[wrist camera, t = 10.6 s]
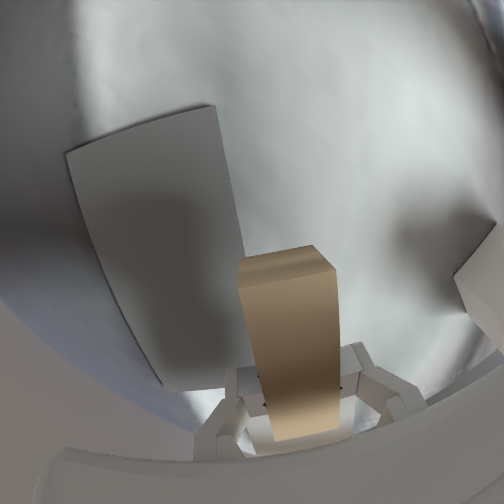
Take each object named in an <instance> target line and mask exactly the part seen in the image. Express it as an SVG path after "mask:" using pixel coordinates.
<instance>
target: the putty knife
mask: <svg viewBox="0 0 504 504" xmlns="http://www.w3.org/2000/svg"><path fill="white" fill-rule="evenodd" d="M238 290H239V295H240V299H241V304H242V308H243V312H244V317H245V321H246V325H247V330H248V334H249V338H250V342H251V347H252V351H253V355H254V359H255V363H256V367H257V371H258V376H259V380H260V384H261V388H262V392H263V395H264V400H265V404H266V408H267V412H268V415H263V416H258V417H251V418H250V420H249V422H248V424H247V426H246V428H247V431H248V433H249V436H250V439H251V441H252V444H253V447H254V449H255V452H256V454H257V457H260V456H268V455H274V454H281V453H287V452H292V451H297V450H302V449H307V448H312V447H316V446H320V445H325V444H328V443H332V442H336V441H340V440H343V439H347V438H350V437H352V432H353V423H354V414H355V403H356V395H354V396H350V397H346V398H342V399H340V326H339V305H338V290H337V276H336V269H335V268H334V267H333V266H332V265H331V264H330V263H329V262H328V261H327V260H326V258H325V257H324V256H323V255H322V254H321V253H320V252H319V251H318V250H317V249H316V248H315V247H314V246H313V245H309V246H303V247H298V248H293V249H288V250H283V251H277V252H272V253H267V254H262V255H256V256H251V257H246V258H241V259H239V271H238Z"/></svg>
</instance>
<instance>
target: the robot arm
mask: <svg viewBox="0 0 504 504" xmlns="http://www.w3.org/2000/svg"><path fill="white" fill-rule="evenodd" d="M354 395H356V396H357V397H358V398H360V399H361V400H362V401H364V402H365V403H366V404H368V405H369V406H370V407H372V408H373V409H374V410H376V411H377V412H378V413H380V414H381V417H380V419H379V422H378V424H377V426H376V428H377V429H375V430H372V431H369V432H366V433H363V434H360V435H357V436H353V437H350V438H347V439H343V440H340V441H336V442H332V443H328V444H325V445H320V446H316V447H312V448H307V449H302V450H297V451H292V452H287V453H281V454H274V455H268V456H260V457H252V458H245V456H244V454H243V453H242V451H241V449H240V448H239V446H238V444H237V442H238V440H239V438H240V437H241V435H242V433H243V431H244V429H245V428H246V426H247V424H248V422H249V420H250V418H251V417H258V416H263V415H268V412H267V408H266V404H265V400H264V395H263V392H262V388H261V384H260V380H259V376H258V371H257V367H256V365H255V366H248V367H240V368H232V369H226V371H225V399H222V400H221V401H220V403H219V404H218V406H217V407H216V408H215V410H214V411H213V412H212V414H211V415H210V416H209V418H208V419H207V420H206V422H205V423H204V424H203V426H202V427H201V428H200V429H199V431H198V432H197V433H196V435H195V436H194V454H193V461H170V460H152V459H140V458H131V457H122V456H115V455H109V454H103V453H97V452H91V451H87V450H82V449H78V448H73V447H64V448H63V449H61V450H59V451H58V452H56V453H55V454H54V455H53V456H52V457H50V458H49V459H48V460H47V461H46V462H45V463H44V465H43V467H42V469H41V471H40V474H39V477H38V480H37V483H36V487H35V491H34V495H33V499H32V503H31V504H504V363H503V364H501V365H500V366H498V367H497V368H495V369H494V370H493V371H491V372H490V373H488V374H487V375H485V376H484V377H482V378H480V379H479V380H477V381H476V382H474V383H472V384H471V385H469V386H467V387H466V388H464V389H462V390H461V391H459V392H457V393H455V394H453V395H452V396H450V397H448V398H446V399H444V400H442V401H440V402H438V403H436V404H434V405H432V406H430V407H428V406H427V404H426V402H425V400H424V398H423V396H422V395H421V393H420V391H419V389H418V387H416V386H414V385H413V384H411V383H409V382H407V381H405V380H403V379H401V378H399V377H397V376H396V375H394V374H392V373H390V372H388V371H386V370H384V369H383V368H381V367H379V366H376V367H375V366H374V364H373V362H372V360H371V358H370V356H369V354H368V352H367V350H366V348H365V347H364V345H363V343H362V342H357V343H353V344H349V345H346V346H342V347H340V399H342V398H346V397H350V396H354Z"/></svg>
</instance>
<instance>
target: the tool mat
mask: <svg viewBox="0 0 504 504" xmlns="http://www.w3.org/2000/svg"><path fill="white" fill-rule="evenodd" d="M66 158H67V162H68V166H69V170H70V174H71V178H72V181H73V185H74V189H75V192H76V195H77V199H78V202H79V205H80V209H81V212H82V215H83V218H84V221H85V224H86V227H87V229H88V232H89V235H90V238H91V241H92V243H93V246H94V249H95V251H96V254H97V256H98V259H99V261H100V264H101V266H102V269H103V271H104V273H105V276H106V278H107V280H108V283H109V285H110V287H111V289H112V292H113V294H114V296H115V298H116V300H117V302H118V304H119V306H120V309H121V311H122V313H123V315H124V317H125V319H126V321H127V323H128V324H129V326H130V328H131V330H132V332H133V334H134V336H135V338H136V340H137V341H138V343H139V345H140V347H141V349H142V350H143V352H144V354H145V356H146V357H147V359H148V361H149V363H150V364H151V366H152V368H153V369H154V371H155V373H156V374H157V376H158V377H159V379H160V381H161V382H162V384H163V385H164V387H165V388H166V390H167V391H168V392H181V391H195V390H206V389H216V388H225V371H226V369H232V368H240V367H248V366H255V365H256V363H255V359H254V355H253V351H252V347H251V342H250V338H249V334H248V330H247V325H246V321H245V317H244V312H243V308H242V304H241V299H240V295H239V290H238V271H239V259H241V258H246V257H245V252H244V247H243V242H242V238H241V233H240V228H239V223H238V218H237V213H236V208H235V203H234V198H233V194H232V189H231V184H230V179H229V174H228V169H227V164H226V159H225V154H224V149H223V144H222V139H221V134H220V129H219V123H218V118H217V113H216V108H215V105H213V106H208V107H204V108H199V109H195V110H191V111H187V112H183V113H179V114H175V115H172V116H168V117H165V118H161V119H158V120H154V121H151V122H148V123H145V124H141V125H138V126H135V127H132V128H129V129H126V130H124V131H121V132H118V133H115V134H113V135H110V136H107V137H105V138H102V139H100V140H97V141H95V142H92V143H90V144H87V145H85V146H83V147H80V148H78V149H76V150H73V151H71V152H69V153H67V154H66Z"/></svg>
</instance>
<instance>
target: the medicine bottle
mask: <svg viewBox="0 0 504 504" xmlns="http://www.w3.org/2000/svg"><path fill="white" fill-rule="evenodd" d="M454 281H455V283H456V285H457V288H458V290H459V293H460V295H461V298H462V300H463V303H464V306H465V308H466V311H467V314H468V315H469V316H470V317H471V318H472V320H473V321H474V322H475V323H476V324H477V325H478V326H479V327H480V328H481V329H482V330H483V332H484V333H485V334H486V335H487V336H488V337H489V338H490V339H491V341H492V342H493V343H494V344H495V345H496V346H497V348H498V349H499V350H500V351H501V352H502V354H503V355H504V226H502V225H501V224H496V225H495V226H494V228H493V229H492V230H491V232H490V233H489V234H488V236H487V237H486V238H485V240H484V241H483V242H482V243H481V245H480V246H479V247H478V248H477V249H476V251H475V252H474V253H473V254H472V255H471V257H470V258H469V259H468V260H467V261H466V262H465V264H464V265H463V266H462V267H461V268H460V269H459V270H458V271H457V272H456V274H455V275H454Z"/></svg>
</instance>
